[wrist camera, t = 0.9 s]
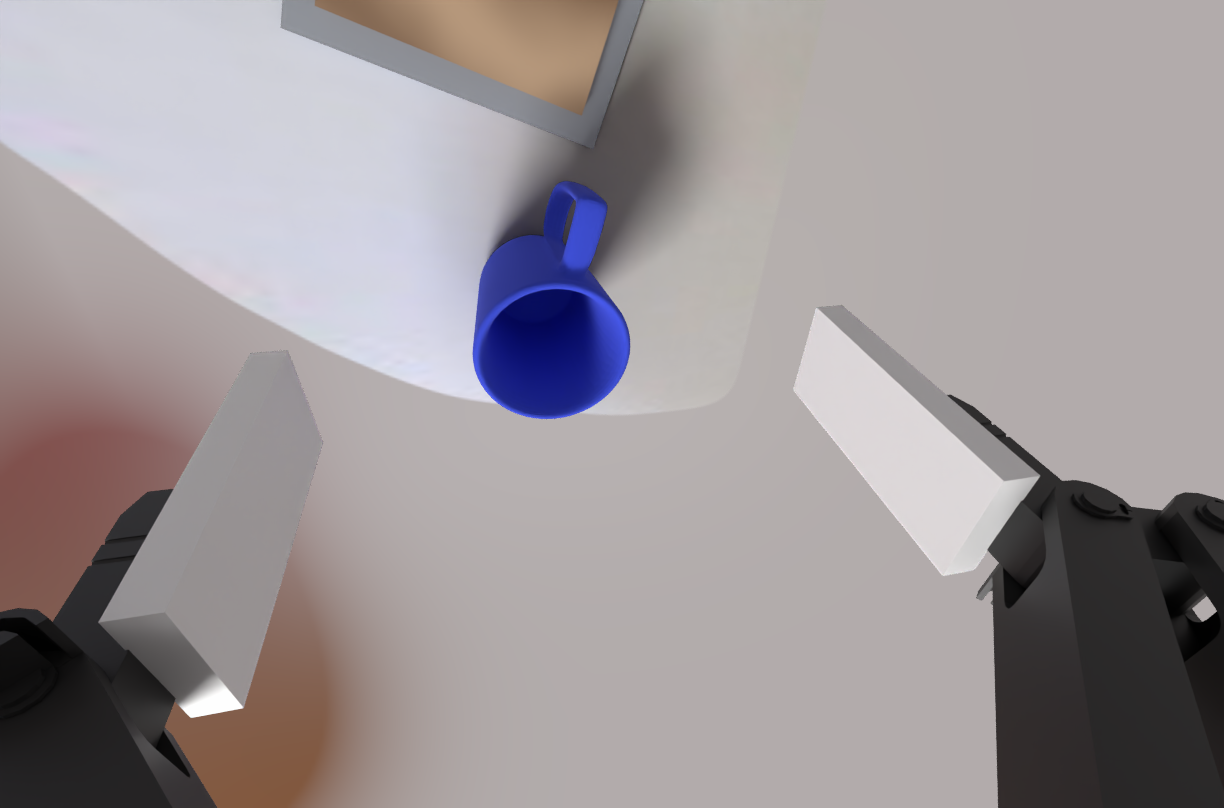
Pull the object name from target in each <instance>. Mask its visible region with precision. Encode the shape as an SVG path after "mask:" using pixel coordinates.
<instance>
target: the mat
mask: <svg viewBox="0 0 1224 808" xmlns="http://www.w3.org/2000/svg"><path fill="white" fill-rule="evenodd" d="M643 1H644V0H619V1H618V4H617V7H616V10H615V13H614V17H613V20H612V23H611V26H610V29H609V32H608V35H607V38H606V42H605V45H604V48H603V51H602V54H601V57H600V60H599V63H598V67H597V70H596V73H595V76H594V79H593V82H592V85H591V88H590V92H589V95H588V98H587V101H586V104H585V107H584V110H583V113H582V116H581V115H579V114H576V113H574V112H571V111H569V110H566V109H564V108H562V107H559V106H557V105H554V104H552V103H549V102H547V101H545V100H542V99H540V98H537V97H535V96H532V95H530V94H528V93H525V92H523V91H520V90H518V89H515V88H513V87H511V86H508V85H506V84H503V83H501V82H498V81H496V80H494V79H491V78H489V77H486V76H484V75H481V74H479V73H477V72H474V71H472V70H469V69H467V68H464V67H462V66H460V65H457V64H455V63H452V62H450V61H447V60H445V59H443V58H440V57H438V56H435V55H433V54H430V53H428V52H426V51H423V50H421V49H418V48H416V47H413V46H411V45H409V44H406V43H404V42H401V41H399V40H396V39H394V38H392V37H389V36H387V35H384V34H382V33H379V32H377V31H375V30H372V29H370V28H367V27H365V26H362V25H360V24H358V23H355V22H353V21H350V20H348V19H345V18H343V17H341V16H338V15H336V14H333V13H331V12H328V11H326V10H324V9H321V8H319V7H316V6H315V0H283V1H282V16H281V28H283V29H285V30H288V31H291V32H293V33H296V34H298V35H301V36H303V37H306V38H309V39H311V40H314V41H316V42H319V43H321V44H324V45H326V46H329V47H332V48H334V49H337V50H339V51H342V52H344V53H347V54H350V55H352V56H355V57H357V58H360V59H362V60H365V61H368V62H370V63H373V64H375V65H378V66H380V67H383V68H386V69H388V70H391V71H393V72H396V73H398V74H401V75H404V76H406V77H409V78H411V79H414V80H416V81H419V82H421V83H424V84H427V85H429V86H432V87H434V88H437V89H439V90H442V91H445V92H447V93H450V94H452V95H455V96H457V97H460V98H463V99H465V100H468V101H470V102H473V103H475V104H478V105H481V106H483V107H486V108H488V109H491V110H493V111H496V112H499V113H501V114H504V115H506V116H509V117H511V118H514V119H516V120H519V121H522V122H524V123H527V124H529V125H532V126H534V127H537V128H540V129H542V130H545V131H547V132H550V133H552V134H555V135H558V136H560V137H563V138H565V139H568V140H570V141H573V142H576V143H578V144H581V145H583V146H586V147H588V148H591V149H593V148H594V145H595V142H596V139H597V136H598V134H599V131H600V128H601V125H602V122H603V119H604V116H605V113H606V110H607V107H608V104H609V101H610V98H611V95H612V92H613V89H614V86H615V83H616V80H617V77H618V74H619V71H620V69H621V66H622V63H623V60H624V57H625V54H626V51H627V48H628V45H629V42H630V39H631V36H632V33H633V30H634V27H635V24H636V21H637V18H638V15H639V12H640V9H641V7H642V4H643Z"/></svg>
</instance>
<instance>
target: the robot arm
mask: <svg viewBox="0 0 1224 808" xmlns="http://www.w3.org/2000/svg"><path fill="white" fill-rule="evenodd" d="M793 390H794V392H795V393H796V394H797V395H798V397H799V398H800V399H801V400H802V402H803V403H804V404H805V405H806V407H807V408H808V409H809V410H810V412H811V413H812V414H813V415H814V417H815V418H816V419H817V420H818V422H819V423H820V424H821V425H822V426H823V428H824V429H825V430H826V432H827V433H828V434H829V435H830V437H831V438H832V439H833V440H834V442H835V443H836V444H837V445H838V446H839V448H840V449H841V450H842V451H843V453H844V454H845V455H846V456H847V458H848V459H849V460H850V461H851V463H852V464H853V465H854V466H855V468H856V469H857V470H858V471H859V473H860V474H861V475H862V476H863V478H864V479H865V480H866V481H867V482H868V484H869V485H870V486H871V488H872V489H873V490H874V491H875V492H876V494H877V495H878V496H879V497H880V499H881V500H882V501H883V502H884V504H885V505H886V506H887V507H888V509H889V510H890V511H891V512H892V514H893V515H894V516H895V517H896V519H897V520H898V521H899V522H900V524H901V525H902V526H903V527H904V529H905V530H906V531H907V532H908V533H909V535H910V536H911V537H912V539H913V540H914V541H915V542H916V543H917V544H918V546H919V547H920V548H921V550H922V551H923V552H924V553H925V555H926V556H927V557H928V558H929V559H930V561H931V562H932V563H933V565H934V566H935V567H936V568H937V570H938V571H939V572H940V573H941V574H942V576H946V575H951V574H956V573H961V572H967V571H972V570H975V568H976V567H977V566H978V564H979V563H980V561H981V560H982V558H983V557H984V555H985V554H986V553H987V551H989V552H990V553H991V555H992V556H993V557H994V558H995V559H996V560H997V561H998V562H999V564H998V565H997V566H996V568H995V569H994V571H993V572H992V573H991V575H990V576H989V578H988V579H987V580H986V582H985V583H984V584H983V585H982V587H981V588H980V590H979V591H978V594H977V597H976V598H977V599H979V600H983V599H984V597H985V596H986V595H987V593H988V592H989V591H992V590H993V601H992V602H991V604H992V605H993V622H994V663H995V702H996V740H997V779H998V808H1224V500H1221V499H1218V498H1215V497H1210V496H1207V495H1203V494H1199V493H1182V494H1179V495H1176V496H1175V497H1174V498H1173V499H1172V500H1171V502H1170V503H1169V504H1168V505H1167V506H1166V507H1165V508H1164V509H1163V510H1153V509H1144V508H1136V507H1131V506H1129V505H1128V504H1127V503H1126V502H1125V501H1124V500H1123V499H1122V498H1120V497H1118V496H1117V495H1115V494H1113V493H1112V492H1110V491H1108V490H1107V489H1104V488H1102V487H1099V486H1096V485H1094V484H1091V483H1087V482H1082V481H1077V480H1071V481H1061V480H1060V479H1059V478H1058V477H1057V476H1056V475H1054V474H1053V473H1052V472H1051V471H1050V470H1049V469H1047V468H1046V467H1045V466H1044V465H1042V464H1041V463H1040V462H1039V461H1038V460H1037V459H1035V458H1034V457H1033V456H1032V455H1031V454H1029V453H1028V452H1027V451H1026V450H1024V449H1023V448H1022V447H1021V446H1020V445H1019V444H1017V443H1016V442H1015V441H1014V440H1013V439H1011V438H1010V437H1006V434H1005V433H1004V432H1003V431H1002V430H1001V429H999V428H998V427H997V426H996V425H992V424H991V421H990V420H989V419H988V418H986V417H985V416H984V415H983V414H982V413H980V412H979V411H978V410H977V409H976V408H974V407H973V406H971V405H969V404H967V403H965V402H964V401H961V400H960V399H958V398H956V397H954V396H952V395H946V394H945V393H944V392H942V391H941V390H940V389H939V388H937V386H935V385H934V384H933V383H932V382H931V381H930V380H928V379H927V378H926V377H925V376H924V375H923V374H921V373H920V372H919V371H918V370H917V369H915V368H914V367H913V366H912V365H911V364H910V363H909V362H907V361H906V360H905V359H904V358H903V357H902V356H901V355H899V354H898V353H897V352H896V351H895V350H894V349H892V348H891V347H890V346H889V345H888V344H886V343H885V342H884V341H883V340H882V339H881V338H879V337H878V336H877V335H876V334H875V333H874V332H873V331H871V330H870V329H869V328H868V327H867V326H866V325H864V324H863V323H862V322H861V321H860V320H858V318H856V317H855V316H854V315H853V314H852V313H851V312H849V311H848V310H847V309H846V308H845V307H844V306H842V305H840V306H827V307H817V308H816V311H815V315H814V318H813V322H812V325H811V329H810V332H809V336H808V340H807V343H806V347H805V350H804V354H803V357H802V361H801V365H800V368H799V371H798V375H797V378H796V382H795V386H794V389H793ZM322 445H323V440H322V437H321V435H320V432H319V430H318V427H317V424H316V422H315V419H314V417H313V414H312V412H311V409H310V406H309V404H308V401H307V399H306V396H305V393H304V391H303V388H302V386H301V383H300V380H299V378H298V375H297V373H296V370H295V368H294V365H293V362H292V360H291V357H290V355H289V352H288V350H283V351H272V352H259V353H250V355H249V357H248V359H247V360H246V362H245V364H244V366H243V367H242V369H241V371H240V373H239V374H238V376H237V378H236V380H235V382H234V383H233V385H232V387H231V389H230V390H229V392H228V394H227V396H226V397H225V399H224V401H223V403H222V404H221V406H220V408H219V410H218V412H217V413H216V415H215V417H214V419H213V420H212V422H211V424H210V426H209V428H208V429H207V431H206V433H205V435H204V436H203V438H202V440H201V442H200V444H199V445H198V447H197V449H196V450H195V452H194V454H193V456H192V458H191V459H190V461H189V463H188V465H187V467H186V468H185V470H184V472H183V473H182V475H181V477H180V479H179V481H178V482H177V484H176V486H175V488H174V489H168V490H160V491H151V492H147V493H146V494H145V495H143V496H142V497H141V498H140V499H139V500H138V501H136V502H135V503H134V504H133V505H132V506H131V507H129V508H128V509H127V510H126V511H125V512H124V513H123V514H121V515H120V517H119V518H118V520H117V522H116V523H115V525H114V526H113V528H112V529H111V531H110V533H109V534H108V536H107V537H106V539H105V545H101V547H100V548H99V550H98V552H97V553H96V555H95V556H94V558H93V559H92V566H88V567H87V569H86V570H85V572H84V574H83V575H82V577H81V578H80V580H79V581H78V583H77V585H76V586H75V588H74V589H73V591H72V592H71V594H70V595H69V597H68V599H67V600H66V602H65V603H64V605H63V606H62V608H61V610H60V611H59V613H58V614H57V616H56V617H55V619H54V621H53V622H52V621H51V620H49V618H47V617H46V616H45V615H43V614H42V613H41V612H40V611H38V610H34V609H21V608H17V609H12V610H8V611H3V612H0V808H217V806H216V805H215V803H214V801H213V800H212V798H211V797H210V795H209V793H208V792H207V790H206V789H205V787H204V785H203V784H202V782H201V781H200V779H199V777H198V776H197V774H196V772H195V771H194V769H193V768H192V766H191V764H190V763H189V761H188V759H187V758H186V756H185V755H184V753H183V752H182V750H181V748H180V747H179V745H178V743H177V742H176V740H175V738H174V737H173V735H172V734H171V733H170V732H169V731H168V730H166V728H165V724H166V722H167V719H168V717H169V714H170V712H171V709H172V707H173V704H174V702H176V703H177V704H178V705H179V706H180V707H181V708H182V709H183V710H184V711H185V712H186V713H187V714H188V715H189V716H190V717H191V718H193V717H198V716H203V715H208V714H214V713H219V712H225V711H230V710H235V709H240V708H244V705H245V701H246V698H247V695H248V691H249V688H250V684H251V681H252V678H253V675H254V671H255V668H256V665H257V661H258V658H259V655H260V651H261V648H262V644H263V641H264V638H265V635H266V631H267V628H268V625H269V621H270V618H271V615H272V611H273V608H274V605H275V601H276V598H277V595H278V591H279V588H280V585H281V581H282V578H283V575H284V571H285V568H286V565H287V561H288V558H289V555H290V551H291V548H292V545H293V541H294V538H295V535H296V531H297V528H298V525H299V521H300V518H301V515H302V511H303V508H304V505H305V501H306V498H307V494H308V491H309V488H310V485H311V481H312V478H313V475H314V471H315V468H316V465H317V461H318V458H319V455H320V451H321V448H322ZM1206 596H1207V597H1208V598H1209V599H1210V601H1211V602H1212V604H1213V605H1214V607H1215V608H1216V610H1217V612H1216V613H1215V614H1213V615H1212V616H1211V617H1210V618H1209V619H1207V620H1205V621H1204V622H1202V621H1201V620H1200V619H1199V618H1198V617H1197V615H1196V614H1195V612H1194V611H1193V610H1192V608H1193V607H1194V606H1195V605H1197V604H1198V603H1199V602H1200V601H1201V600H1202V599H1204V598H1205V597H1206Z"/></svg>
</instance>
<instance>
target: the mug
mask: <svg viewBox="0 0 1224 808" xmlns="http://www.w3.org/2000/svg"><path fill="white" fill-rule="evenodd" d="M574 199H575V200H576V208H575V212H574V216H573V220H572V224H571V228H570V232H569V236H568V240H567V243H566V245H565V244H563V239H562V238H563V232H564V227H565V223H566V219H567V216H568V212H569V209H570V207H571V205H572V202H573V201H574ZM606 213H607V204H606V202H605V201H604V200H603V199H602V198H601V197H600V196H599V195H597V194H596V193H595V192H594V191H592V190H591V189H589V188H588V187H586V186H584V185H581V184H578V183H575V182H570V181H563V182H560V183H558V184H557V185H556V186H555V187H554V189H553V191H552V193H551V196H550V199H549V202H548V205H547V209H546V214H545V220H544V236H540V235H527V236H521V237H518V238H515V239H512V240H510V241H508V242H506V243H505V244H503V245H502V246H500V247H499V248H498V249H497V250H496V251H495V252H494V253H493V254H492V255H491V256H490V258H489V259H488V261H487V262H486V264H485V266H484V269H483V271H482V274H481V278H480V284H479V294H478V304H477V313H476V323H475V333H474V343H473V363H474V368H475V371H476V374H477V377H478V379H479V381H480V383H481V385H482V386H483V388H484V389H485V391H486V392H487V393H488V394H489V395H490V396H491V398H492V399H494V400H495V401H496V402H497V403H498V404H500V405H501V406H503V407H505V408H506V409H508V410H510V411H512V412H514V413H517V414H520V415H523V416H526V417H531V418H539V419H553V418H554V419H555V418H562V417H567V416H571V415H574V414H577V413H580V412H582V411H584V410H586V409H588V408H590V407H592V406H594V405H595V404H597V403H598V402H599V401H601V400H602V399H603V398H605V397H606V396H607V395H608V394H609V393H610V392H611V391H612V390H613V388H614V387H615V386H616V385H617V383H618V382H619V380H620V379H621V377H622V375H623V373H624V371H625V369H626V366H627V363H628V359H629V354H630V336H629V331H628V327H627V324H626V322H625V319H624V317H623V315H622V313H621V312H620V310H619V309H618V308H617V306H616V305H615V304H614V302H613V301H612V300H611V298H610V297H609V296H608V294H607V293H606V292H605V291H604V289H603V288H602V287H601V285H600V284H599V283H598V281H597V280H596V279H595V277H594V276H593V275H592V274H591V272H590V271H589V270H588V268H589V266H590V264H591V261H592V259H593V256H594V254H595V251H596V248H597V245H598V242H599V238H600V235H601V232H602V229H603V225H604V221H605V217H606Z"/></svg>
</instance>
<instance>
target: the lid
mask: <svg viewBox="0 0 1224 808" xmlns="http://www.w3.org/2000/svg"><path fill="white" fill-rule="evenodd" d="M618 1H619V0H315V6H316V7H319V8H321V9H324V10H326V11H328V12H331V13H333V14H336V15H338V16H341V17H343V18H345V19H348V20H350V21H353V22H355V23H358V24H360V25H362V26H365V27H367V28H370V29H372V30H375V31H377V32H379V33H382V34H384V35H387V36H389V37H392V38H394V39H396V40H399V41H401V42H404V43H406V44H409V45H411V46H413V47H416V48H418V49H421V50H423V51H426V52H428V53H430V54H433V55H435V56H438V57H440V58H443V59H445V60H447V61H450V62H452V63H455V64H457V65H460V66H462V67H464V68H467V69H469V70H472V71H474V72H477V73H479V74H481V75H484V76H486V77H489V78H491V79H494V80H496V81H498V82H501V83H503V84H506V85H508V86H511V87H513V88H515V89H518V90H520V91H523V92H525V93H528V94H530V95H532V96H535V97H537V98H540V99H542V100H545V101H547V102H549V103H552V104H554V105H557V106H559V107H562V108H564V109H566V110H569V111H571V112H574V113H576V114H579V115H581V116H582V113H583V110H584V107H585V104H586V101H587V98H588V95H589V92H590V88H591V85H592V82H593V79H594V76H595V73H596V70H597V67H598V63H599V60H600V57H601V54H602V51H603V48H604V45H605V42H606V38H607V35H608V32H609V29H610V26H611V23H612V20H613V17H614V13H615V10H616V7H617V4H618Z"/></svg>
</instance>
